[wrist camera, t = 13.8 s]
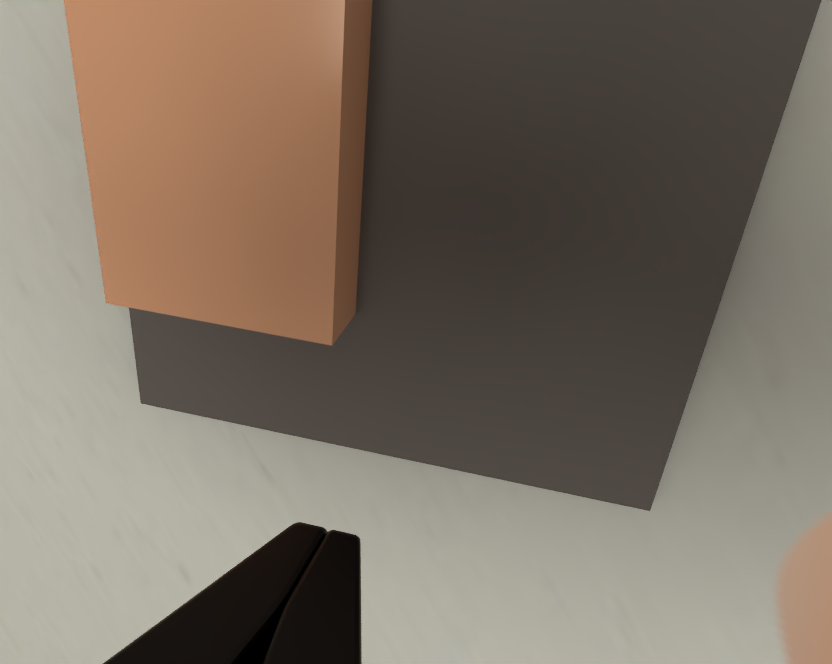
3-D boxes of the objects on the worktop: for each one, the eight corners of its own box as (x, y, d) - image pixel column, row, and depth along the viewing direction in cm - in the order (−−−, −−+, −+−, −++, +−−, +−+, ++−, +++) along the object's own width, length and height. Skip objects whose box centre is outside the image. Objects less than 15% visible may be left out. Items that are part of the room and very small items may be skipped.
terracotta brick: (345, -22, 14) (56, -50, 15) (332, 345, 18) (106, 303, 19) (373, -16, 16) (116, -42, 17) (355, 314, 20) (149, 276, 21)
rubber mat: (821, -18, 14) (827, -19, 14) (648, 502, 21) (649, 510, 21) (91, -83, 17) (81, -85, 17) (147, 397, 24) (140, 402, 23)
